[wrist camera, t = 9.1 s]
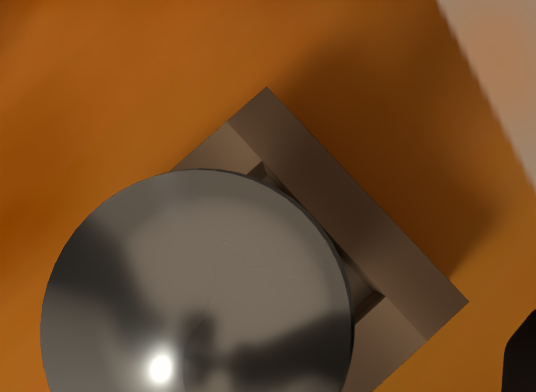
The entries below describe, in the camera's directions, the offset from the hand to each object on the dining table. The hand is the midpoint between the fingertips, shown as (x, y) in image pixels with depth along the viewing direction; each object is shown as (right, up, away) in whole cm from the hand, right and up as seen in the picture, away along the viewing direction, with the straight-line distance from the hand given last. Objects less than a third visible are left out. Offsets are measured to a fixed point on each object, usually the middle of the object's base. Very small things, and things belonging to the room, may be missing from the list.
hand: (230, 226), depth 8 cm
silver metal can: (0, -3, +12) cm, 13 cm away
